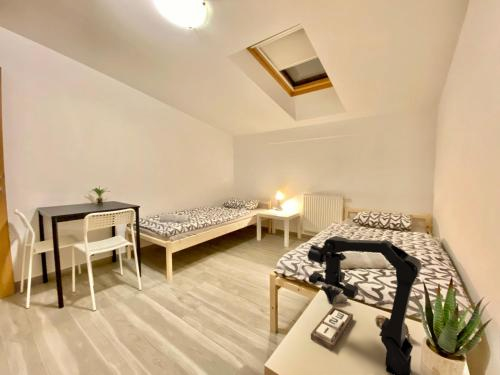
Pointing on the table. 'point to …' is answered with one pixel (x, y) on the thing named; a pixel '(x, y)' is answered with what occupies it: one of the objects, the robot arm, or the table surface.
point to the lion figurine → (381, 319)
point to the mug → (340, 298)
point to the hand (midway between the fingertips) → (331, 303)
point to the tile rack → (338, 335)
